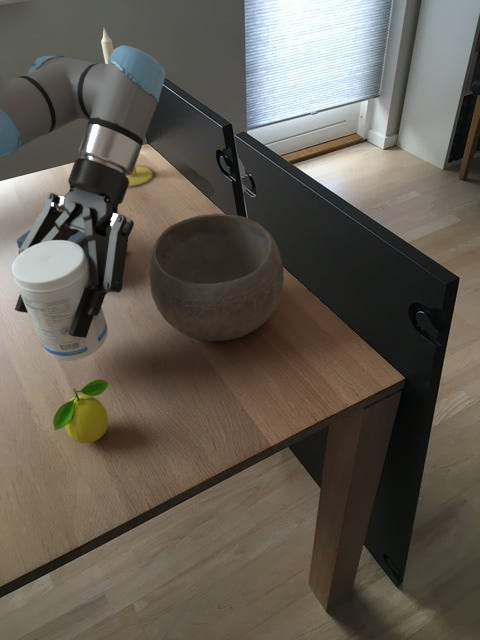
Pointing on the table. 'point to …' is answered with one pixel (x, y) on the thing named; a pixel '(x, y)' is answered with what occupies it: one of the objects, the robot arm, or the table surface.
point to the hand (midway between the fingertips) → (49, 323)
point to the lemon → (84, 414)
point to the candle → (139, 172)
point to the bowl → (216, 276)
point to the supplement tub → (57, 297)
